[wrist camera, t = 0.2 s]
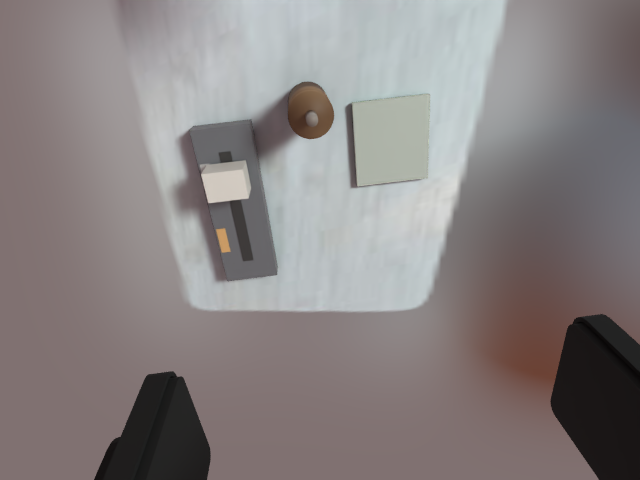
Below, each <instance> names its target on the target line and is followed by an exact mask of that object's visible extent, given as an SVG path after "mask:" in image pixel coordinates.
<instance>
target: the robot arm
mask: <svg viewBox="0 0 640 480" xmlns="http://www.w3.org/2000/svg"><path fill="white" fill-rule="evenodd" d="M551 407H552V410H553V413H554V415H555V416H556V418H557V419H558V421H559V422H560V424H561V425H562V427H563V428H564V429H565V431H566V432H567V434H568V435H569V436H570V438H571V440H572V441H573V442H574V444H575V445H576V447H577V448H578V450H579V451H580V452H581V454H582V455H583V457H584V458H585V460H586V461H587V462H588V464H589V466H590V467H591V468H592V470H593V471H594V472H595V474H596V475H597V477H598V479H599V480H640V345H639V344H638V343H637V342H636V341H635V340H634V339H632V337H630V336H629V335H628V334H627V333H626V332H625V331H624V330H623V329H621V328H620V327H619V326H618V325H617V324H616V323H615V322H614V321H612V320H611V319H610V318H609V317H607V316H606V315H603V314H600V315H592V316H585V317H578V318H576V319H575V320H574V322H573V324H572V325H569V326H568V329H567V333H566V337H565V341H564V346H563V350H562V354H561V358H560V362H559V367H558V371H557V375H556V380H555V384H554V388H553V392H552V396H551ZM209 465H210V447H209V444H208V441H207V439H206V436H205V433H204V431H203V428H202V426H201V423H200V420H199V417H198V415H197V412H196V410H195V407H194V404H193V402H192V399H191V396H190V394H189V391H188V388H187V386H186V383H185V381H184V378H183V377H177V376H176V374H175V373H174V372H164V373H157V374H149V375H147V376H146V378H145V380H144V382H143V384H142V387H141V389H140V391H139V394H138V396H137V399H136V401H135V403H134V406H133V409H132V411H131V413H130V416H129V418H128V420H127V423H126V425H125V428H124V430H123V432H122V435H121V437H118V438H116V439H114V440H113V441H112V442H111V444H110V446H109V447H108V449H107V451H106V453H105V456H104V458H103V460H102V463H101V465H100V467H99V470H98V472H97V474H96V476H95V479H94V480H207V476H208V471H209Z"/></svg>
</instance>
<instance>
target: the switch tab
mask: <svg viewBox="0 0 640 480" xmlns="http://www.w3.org/2000/svg"><path fill="white" fill-rule="evenodd" d="M201 176H202V180H203V184H204V188H205V192H206V196H207V199H208V203H215V202H223V201H232V200H240V199H248V198H249V195H250V191H251V184H250V179H249V174H248V169H247V164H246V160H243V161H235V162H227V163H218V164H210V165H206V167H205V169H204V170H203V172H202V174H201Z"/></svg>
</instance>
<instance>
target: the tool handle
mask: <svg viewBox="0 0 640 480" xmlns="http://www.w3.org/2000/svg"><path fill="white" fill-rule="evenodd" d="M288 120H289V124H290V126H291V128H292V129H293V131H294V132H295V133H296V134H298V135H299V136H301V137H303V138H307V139H315V138H319V137H321V136H323V135H324V134H326V133H327V132H328V131H329V129H330V128H331V126H332V123H333V120H334V111H333V107H332V105H331V103H330V101H329V99H328V97H327V95H326V94H325V92H324V90H323V89H322V88H321V87H320V86H319V85H318V84H316V83H313V82H302V83H300V84H298V85H296V86H295V87H294V88H293V89H292V91H291V92H290V95H289V99H288Z"/></svg>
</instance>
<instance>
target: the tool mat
mask: <svg viewBox="0 0 640 480" xmlns="http://www.w3.org/2000/svg"><path fill="white" fill-rule="evenodd" d="M352 116H353V133H354V149H355V166H356V183H357V186H366V185H374V184H382V183H390V182H399V181H407V180H415V179H424V178H428V152H429V118H430V94H420V95H412V96H403V97H395V98H386V99H378V100H369V101H361V102H352Z"/></svg>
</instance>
